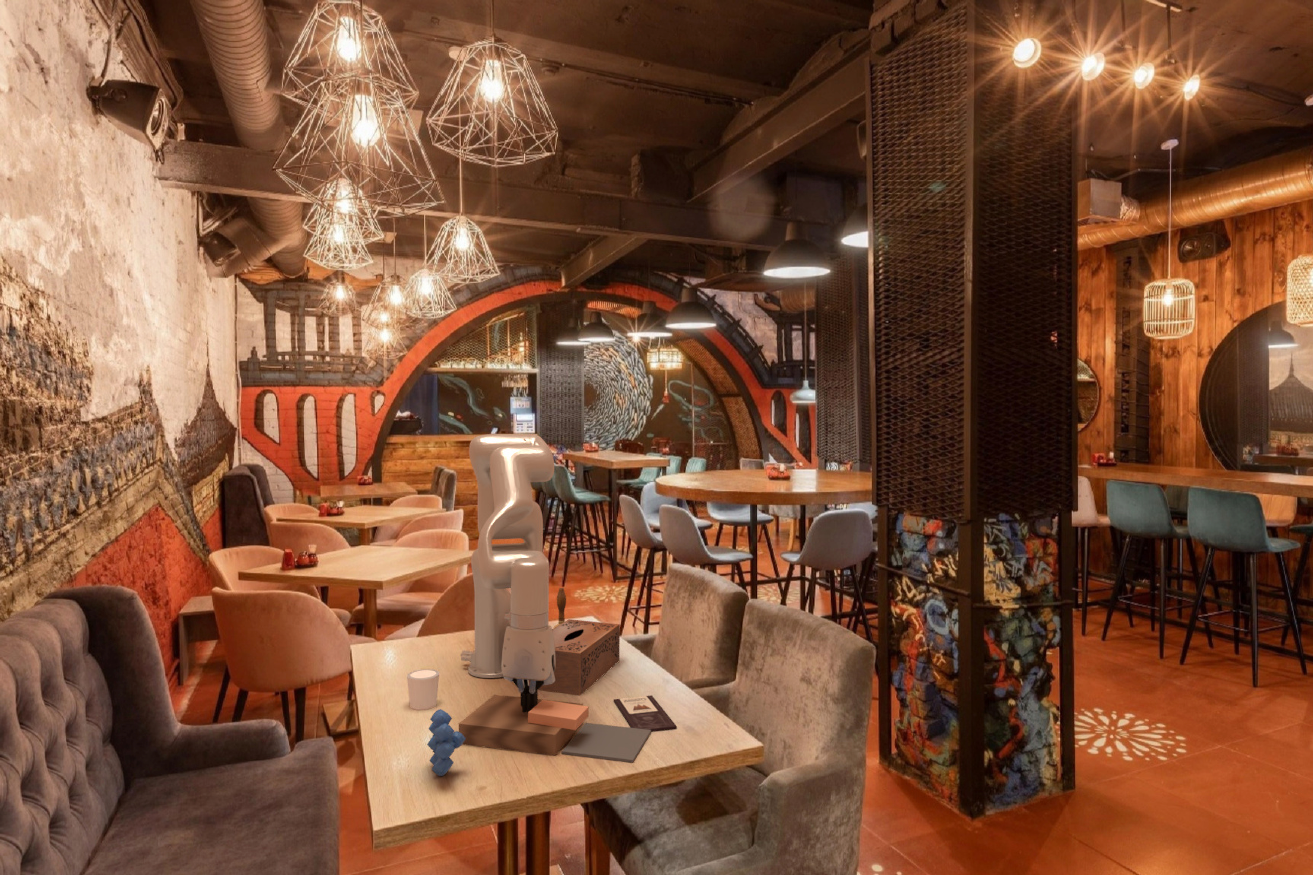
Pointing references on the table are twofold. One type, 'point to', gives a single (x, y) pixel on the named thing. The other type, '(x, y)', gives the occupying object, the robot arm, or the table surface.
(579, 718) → the orange flat block
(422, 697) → the pale tapered cup
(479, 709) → the stand
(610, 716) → the table surface
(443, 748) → the grapes
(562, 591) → the hand bell
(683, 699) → the table surface
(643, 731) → the mat
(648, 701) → the chocolate bar
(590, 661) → the tissue box cover
